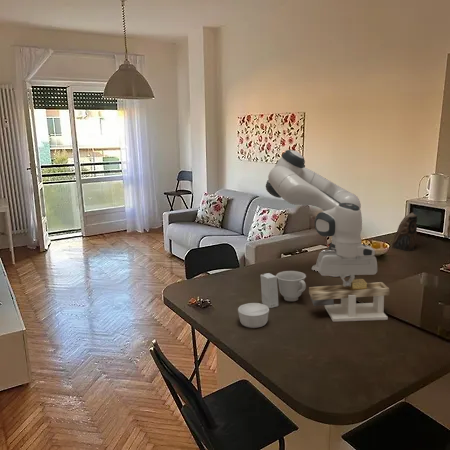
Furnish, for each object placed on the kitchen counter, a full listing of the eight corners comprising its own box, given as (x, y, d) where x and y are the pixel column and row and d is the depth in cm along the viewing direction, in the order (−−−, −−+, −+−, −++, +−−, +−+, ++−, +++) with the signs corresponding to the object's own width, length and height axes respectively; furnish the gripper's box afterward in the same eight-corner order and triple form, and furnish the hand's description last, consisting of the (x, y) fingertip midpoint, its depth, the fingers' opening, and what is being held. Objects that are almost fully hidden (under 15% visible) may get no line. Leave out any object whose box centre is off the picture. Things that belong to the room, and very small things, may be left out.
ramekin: (260, 332, 138) (260, 317, 137) (232, 325, 144) (231, 311, 143) (274, 319, 147) (274, 305, 146) (247, 314, 153) (247, 300, 152)
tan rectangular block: (352, 292, 146) (352, 283, 145) (349, 288, 150) (349, 279, 149) (366, 291, 146) (366, 282, 145) (362, 287, 150) (363, 278, 149)
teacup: (292, 309, 156) (292, 284, 154) (270, 297, 169) (269, 274, 167) (317, 302, 161) (317, 278, 159) (294, 291, 174) (294, 268, 172)
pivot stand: (332, 321, 144) (333, 297, 142) (324, 307, 156) (324, 285, 155) (387, 319, 143) (388, 295, 142) (374, 305, 156) (375, 283, 154)
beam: (313, 307, 145) (312, 294, 144) (309, 298, 153) (308, 286, 152) (389, 301, 145) (389, 289, 144) (381, 293, 152) (381, 281, 151)
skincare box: (278, 306, 159) (278, 276, 157) (269, 308, 157) (268, 278, 155) (270, 301, 165) (269, 272, 162) (260, 303, 163) (260, 274, 160)
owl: (410, 245, 240) (411, 211, 236) (424, 250, 228) (426, 214, 224) (390, 247, 238) (392, 213, 234) (404, 252, 226) (406, 216, 222)
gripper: (320, 252, 142) (319, 290, 145) (379, 250, 142) (378, 288, 144) (316, 247, 149) (316, 284, 151) (373, 246, 148) (372, 282, 151)
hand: (347, 286), depth 148 cm, fingers closed
